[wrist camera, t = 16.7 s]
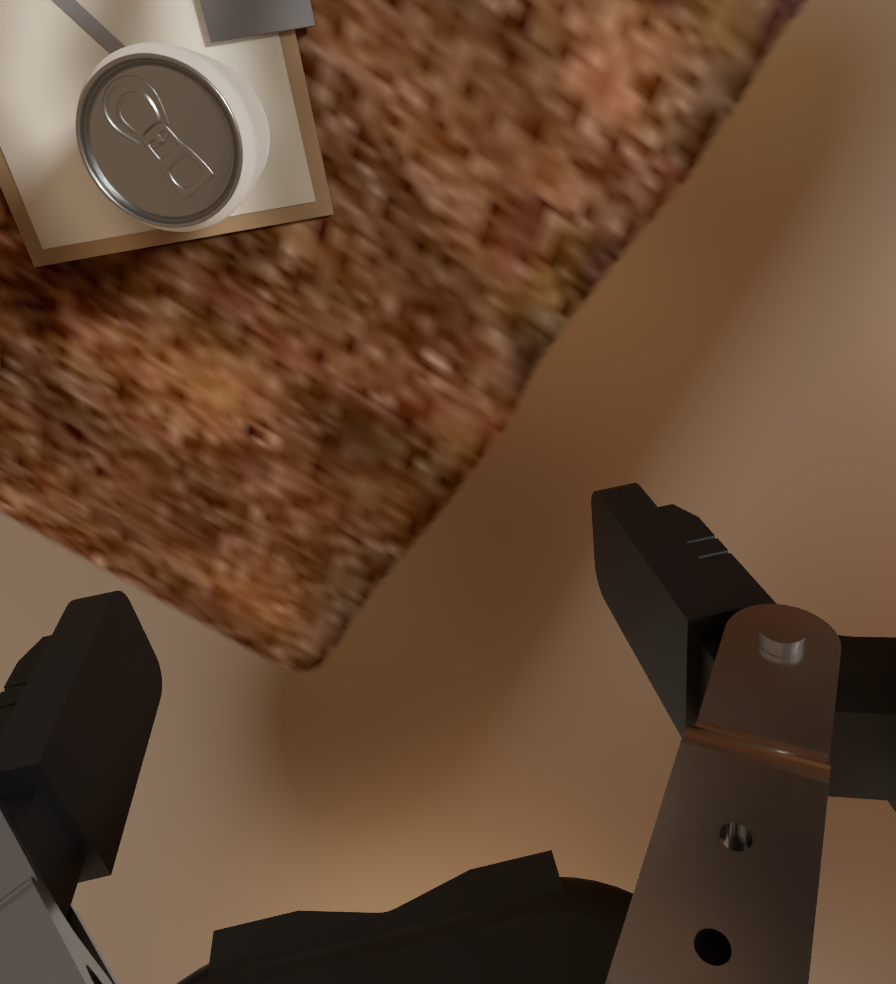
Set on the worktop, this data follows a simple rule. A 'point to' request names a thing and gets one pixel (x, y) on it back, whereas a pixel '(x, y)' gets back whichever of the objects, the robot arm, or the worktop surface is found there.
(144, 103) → the can
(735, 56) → the worktop surface
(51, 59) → the clipboard
